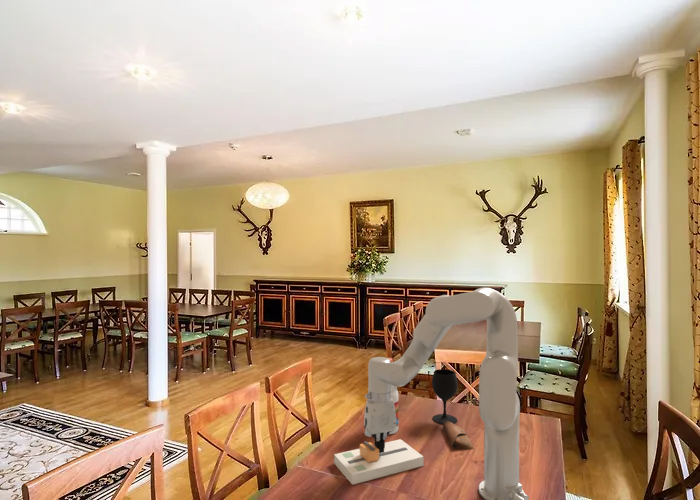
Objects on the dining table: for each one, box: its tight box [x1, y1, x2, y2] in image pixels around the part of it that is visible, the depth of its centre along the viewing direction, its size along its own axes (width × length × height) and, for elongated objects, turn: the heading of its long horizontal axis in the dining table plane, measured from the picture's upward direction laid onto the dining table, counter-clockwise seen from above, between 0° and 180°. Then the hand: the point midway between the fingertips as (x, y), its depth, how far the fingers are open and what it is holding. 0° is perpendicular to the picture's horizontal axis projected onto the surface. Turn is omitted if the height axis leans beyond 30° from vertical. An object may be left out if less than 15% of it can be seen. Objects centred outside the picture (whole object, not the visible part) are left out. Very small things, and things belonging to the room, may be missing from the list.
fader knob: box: [359, 440, 379, 462], centre depth 135 cm, size 4×6×4 cm, turn 25°
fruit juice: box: [387, 357, 400, 435], centre depth 163 cm, size 9×9×28 cm
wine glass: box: [431, 368, 458, 425], centre depth 173 cm, size 10×10×20 cm
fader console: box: [333, 438, 425, 486], centre depth 137 cm, size 26×14×3 cm, turn 115°
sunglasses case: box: [442, 421, 475, 451], centre depth 156 cm, size 18×7×7 cm, turn 179°
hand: (379, 450), depth 137 cm, fingers closed
